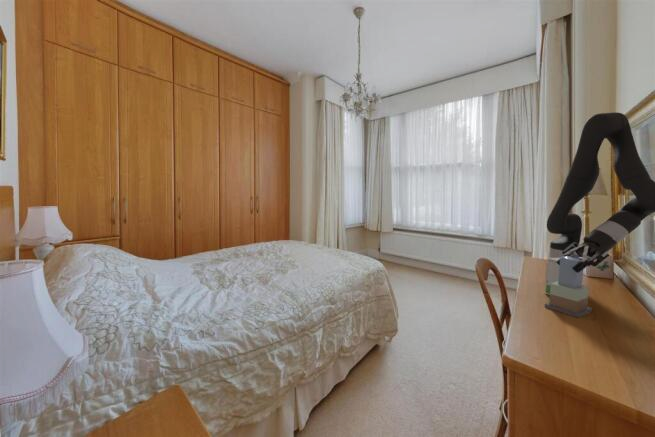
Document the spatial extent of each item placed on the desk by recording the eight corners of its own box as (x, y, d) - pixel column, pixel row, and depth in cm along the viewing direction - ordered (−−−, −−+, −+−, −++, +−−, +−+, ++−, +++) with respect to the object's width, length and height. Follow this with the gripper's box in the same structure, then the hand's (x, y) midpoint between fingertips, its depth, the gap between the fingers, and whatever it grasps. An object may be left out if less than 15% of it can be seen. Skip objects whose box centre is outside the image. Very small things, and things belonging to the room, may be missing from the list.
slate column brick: (557, 283, 99) (560, 257, 98) (564, 281, 101) (567, 255, 100) (575, 288, 95) (577, 260, 93) (581, 285, 97) (584, 258, 96)
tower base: (544, 306, 101) (546, 283, 100) (557, 301, 106) (559, 278, 105) (578, 317, 92) (580, 291, 91) (591, 311, 97) (593, 286, 96)
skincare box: (544, 293, 114) (546, 257, 112) (558, 292, 115) (560, 257, 113) (563, 301, 106) (566, 263, 104) (578, 300, 106) (581, 262, 105)
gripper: (581, 226, 102) (545, 255, 105) (615, 232, 88) (573, 265, 91) (596, 240, 102) (560, 269, 105) (632, 248, 88) (589, 281, 90)
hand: (566, 267), depth 98 cm, fingers open, 7 cm apart
